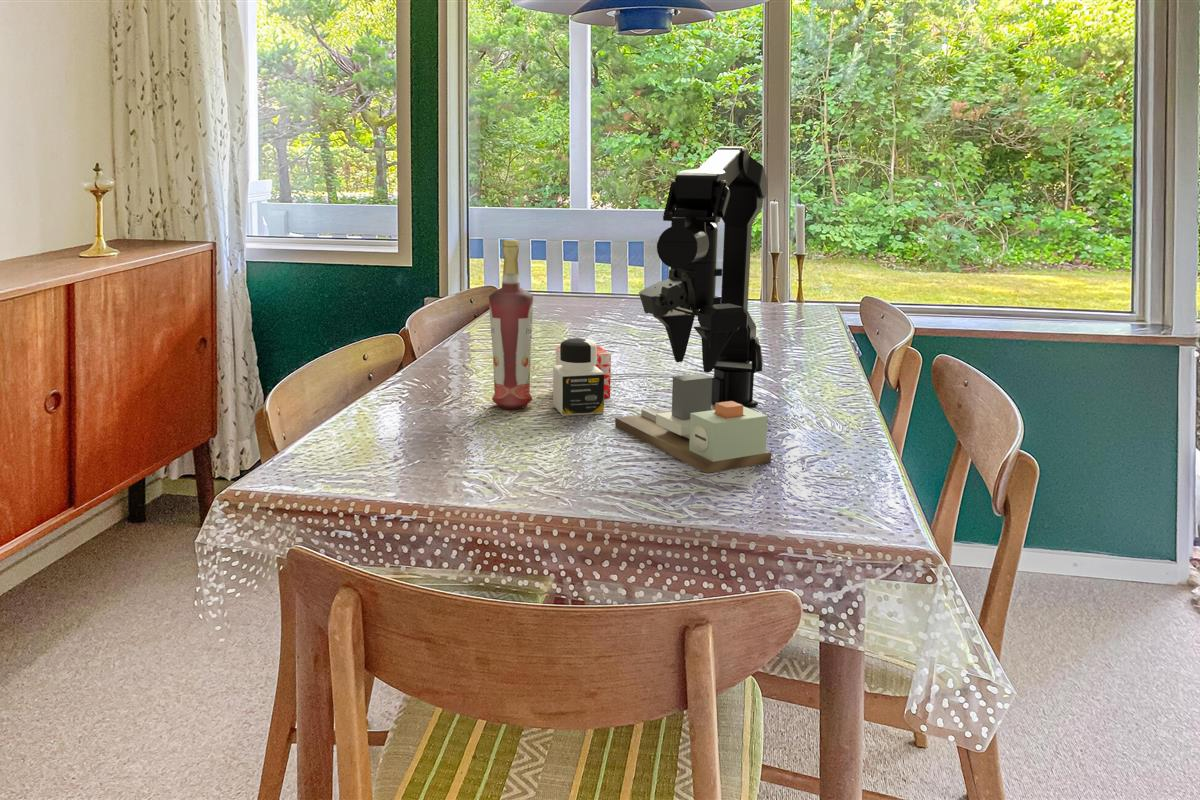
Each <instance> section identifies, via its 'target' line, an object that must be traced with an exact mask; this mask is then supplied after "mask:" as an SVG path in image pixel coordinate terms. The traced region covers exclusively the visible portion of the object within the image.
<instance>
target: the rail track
mask: <svg viewBox="0 0 1200 800" xmlns="http://www.w3.org/2000/svg"><path fill="white" fill-rule="evenodd" d="M665 412H672V409H671V410H665V411H660V410H657V409H656V408H653V407H650V408H641V413H640V414H635V415H634V414H632V415H627V416H619V417H615V420H614V424H615V425H614V427H615V428H617V429H618V430H620V431H622V432H623V433H626V434H628V435H631V436H632V437H634V438H636V439H638V440H640V441H642V442H643V443H646V444H648V445H650V446H651V447H654V448H656V449H658V450H660V451H662V452H664V453H666V454H668V455H670V456H671V457H674V458H676V459H678V460H680V461H682V462H684V463H686V464H688V465H690V466H692V467H693V468H696V469H698V470H699V471H701V472H704V473H705V474H709V473H714V472H715V473H716V472H721V471H722V472H723V471H728V470H734V469H740V468H746V467H752V466H757V465H762V464H763V465H764V464H768V463H772V451H770V450H767V449H766V453H764V454H758V455H751V456H745V457H739V458H733V459H727V460H721V461H714V462H712V461H710V460H708V459H706V458H704V457H702V456H700V455H698V454H696V453H694V452H692V451H690V450H689V442H690V439H689V438H686V437H684V436H681V435H678V434H676V433H674V432H672V431H670V430H668V429H666V428H663V427H661V426H659V425H657V424H656V414H658V413H665Z"/></svg>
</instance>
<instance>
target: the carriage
mask: <svg viewBox="0 0 1200 800" xmlns="http://www.w3.org/2000/svg"><path fill="white" fill-rule="evenodd" d="M712 378H713V376H710V375H706V374H703V373H701V372H700V373H693V374H691V373H690V374H685V375H675V376H672V385H671V386H672V387H671V388H672V389H671V390H672V393H671V410H672V412H665V413H658V414H656V424H657V425H659V426H661V427H663V428H666V429H668V430H670V431H672V432H674V433H676V434H678V435H681V436H684V437H686V438H689V439H690V413H695V412H702V411H710V410H712V402H711V397H712Z"/></svg>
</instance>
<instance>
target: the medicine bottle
mask: <svg viewBox="0 0 1200 800" xmlns="http://www.w3.org/2000/svg"><path fill="white" fill-rule="evenodd" d="M597 345H598V344H597V343H596V342H595V341H594V340H592V339H589V338H582V337H579V338H578V337H577V338H576V337H575V338H574V337H573V338H567V339H565V340H563V341H561V343H560V344H559V346H560V364H561V365H556V364H555V365H554V366H553V367H552V405H553V407H554V408H555V409H556V410H557V411H558V412H559V413H560V415H562V416H563V417H570V416H585V415H602V414H603V415H604V411H605V407H604V406H605V403H604V402H605V398H604V373H603V372H602V371H601V370H600V369H599V368H597V367H596V366H595V365H596V360H597Z"/></svg>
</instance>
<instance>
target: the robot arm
mask: <svg viewBox="0 0 1200 800" xmlns="http://www.w3.org/2000/svg"><path fill="white" fill-rule="evenodd" d="M767 193H768V178H767V174H766V171H765V167H764V165H763V164H761V163H760V162H759V161H757V160H756V159H754V158H753V157H752V156H750V153H749V150H748V148H745V147H743V146H729V145H728V146H722V145H721V146H719V147H715V148H714V149H713V154H712V155H711V156H710V157H709V158H708V159H707V160H705V162H704V163H703V164H702V165H701V166H700V167H698V168H693V169H692V168H690V169H683V170H681V171H678V172H677V173H676V175H675V177H674V178H673V179H672V181H671V183H670V187H669V190H668V193H667V194H668V195H667V199H666V202H665V203H666V204H665V208H664V212H663V215H662V220H663V221H664V222H671V225H670V227H668V228H666V229H664V231H662V232H661V234H660V236H659V237H658V241H657V242H656V252H657V255H658V257H659V259H660V261H661V262H662V263H663V264H664V265H666V266H667V267H669V268H670V269H669V270H668V278H667V279H664V280H661V281H658V282H656V283H654V284H652V285H650V286H648V287H645V288H644V289H642V290H640V291H638V295H639V298H640V301H641V304H642V307H643V311H644V313H645V314H649V315H650V314H651V315H652V316H653V317H654V318H655V319H657V320H658V321H659V322H660V323H661V324H662V325H663V326H664V328H665V330H666V333H667V336H668V340H669V344H670V347H671V352H672V354H673V357H674V362H676V363H682V362H683V361H684V359H685V355H686V352H687V348H688V345H689V340H690V336H691V332H692V329H693V328H694V330H695V331H696V333H698V335H699V336H700V337H701V352H702V353H701V354H702V368H703V372H704V373H711V372H712V371H713V376H712V397H711V404H715V403H719V402H727V401H734V402H736V403H739V404H741V405H743V406H744V407H746V408H747V407H751V406H758V405H759V401H757V400H754V382H755V381H754V380H755V379H754V378H755V374H756V373H758V372H759V373H760V372H763V366H764V364H763V363H764V362H763V352H762V346H761V345H760V340H759V337H757V326H756V324H755V321H754V319H753V318H752V316H751V315H750V312H749V309H748V308H749V291H750V289H749V287H750V285H749V284H750V267H751V250H752V249H751V247H752V228H753V223H754V221H755V220H756V219H757V217H758V215H759V213H760V212H761V211H762V209H763V205H764V199H766V197H767ZM721 220H722V223H723V224H724V228H723V251H722V268H719V267H717V260H718V259H717V257H718V230H719V229H718V224H719V223H720V221H721ZM717 277H721V279H722V280H721V291H720V293H721V296H718V295H716V284H717V283H716V280H717ZM695 317H697V321H698V324H699V326H694V321H695Z"/></svg>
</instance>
